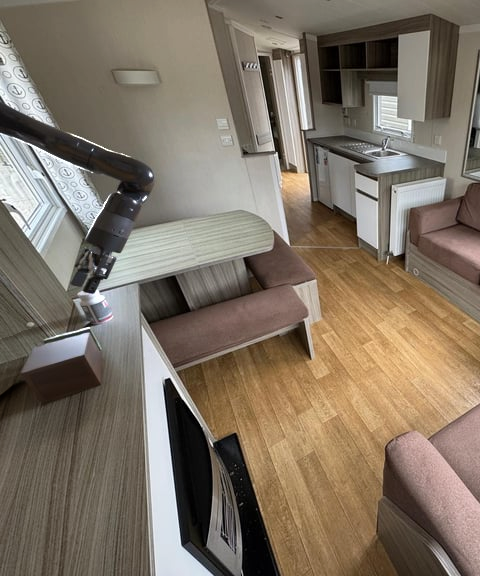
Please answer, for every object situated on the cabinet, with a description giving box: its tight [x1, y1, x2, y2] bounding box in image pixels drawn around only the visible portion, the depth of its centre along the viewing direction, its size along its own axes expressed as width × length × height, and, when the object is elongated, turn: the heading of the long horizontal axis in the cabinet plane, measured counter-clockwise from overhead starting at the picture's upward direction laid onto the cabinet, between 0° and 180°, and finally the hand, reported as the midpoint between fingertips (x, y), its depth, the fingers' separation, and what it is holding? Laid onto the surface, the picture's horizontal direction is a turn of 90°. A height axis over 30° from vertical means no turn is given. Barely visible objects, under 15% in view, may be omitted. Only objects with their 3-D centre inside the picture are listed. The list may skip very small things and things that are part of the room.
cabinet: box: [20, 333, 105, 405], centre depth 69 cm, size 11×10×9 cm
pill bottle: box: [76, 288, 114, 325], centre depth 92 cm, size 6×6×10 cm
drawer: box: [42, 326, 103, 352], centre depth 73 cm, size 11×8×7 cm
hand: (81, 289), depth 77 cm, fingers open, 8 cm apart
